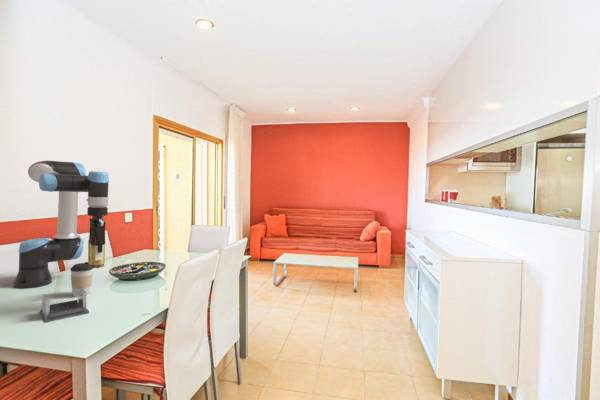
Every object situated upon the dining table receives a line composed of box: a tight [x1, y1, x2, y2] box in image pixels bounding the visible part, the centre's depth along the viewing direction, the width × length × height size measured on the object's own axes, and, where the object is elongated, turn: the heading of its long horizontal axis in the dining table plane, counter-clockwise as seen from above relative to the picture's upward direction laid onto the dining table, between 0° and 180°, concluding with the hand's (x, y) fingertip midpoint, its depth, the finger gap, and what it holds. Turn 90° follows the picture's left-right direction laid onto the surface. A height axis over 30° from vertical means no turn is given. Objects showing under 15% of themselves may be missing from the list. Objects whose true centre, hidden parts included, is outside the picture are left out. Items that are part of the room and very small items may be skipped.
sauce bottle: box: [87, 223, 106, 269], centre depth 138 cm, size 6×6×20 cm
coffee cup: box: [70, 261, 94, 298], centre depth 150 cm, size 9×9×15 cm
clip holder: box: [39, 288, 90, 323], centre depth 129 cm, size 14×14×8 cm
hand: (96, 258), depth 139 cm, fingers closed on sauce bottle, 6 cm apart
